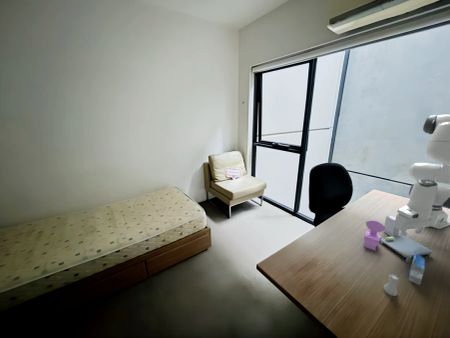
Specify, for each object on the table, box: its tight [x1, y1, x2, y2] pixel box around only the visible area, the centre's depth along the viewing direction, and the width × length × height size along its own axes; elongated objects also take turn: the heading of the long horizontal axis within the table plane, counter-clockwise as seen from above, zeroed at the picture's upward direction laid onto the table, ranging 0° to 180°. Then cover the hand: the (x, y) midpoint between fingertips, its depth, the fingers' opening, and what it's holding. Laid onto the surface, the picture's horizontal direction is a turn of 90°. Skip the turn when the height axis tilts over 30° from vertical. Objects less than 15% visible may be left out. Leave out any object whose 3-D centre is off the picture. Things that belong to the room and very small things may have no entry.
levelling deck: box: [380, 235, 434, 258], centre depth 100 cm, size 16×14×3 cm
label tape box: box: [408, 250, 426, 286], centre depth 83 cm, size 9×4×12 cm, turn 133°
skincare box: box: [382, 215, 401, 237], centre depth 112 cm, size 6×4×12 cm
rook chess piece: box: [383, 273, 400, 297], centre depth 77 cm, size 4×4×8 cm
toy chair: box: [363, 220, 385, 252], centre depth 102 cm, size 8×9×15 cm
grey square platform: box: [379, 236, 433, 264], centre depth 101 cm, size 17×16×4 cm
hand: (410, 234), depth 98 cm, fingers open, 8 cm apart
